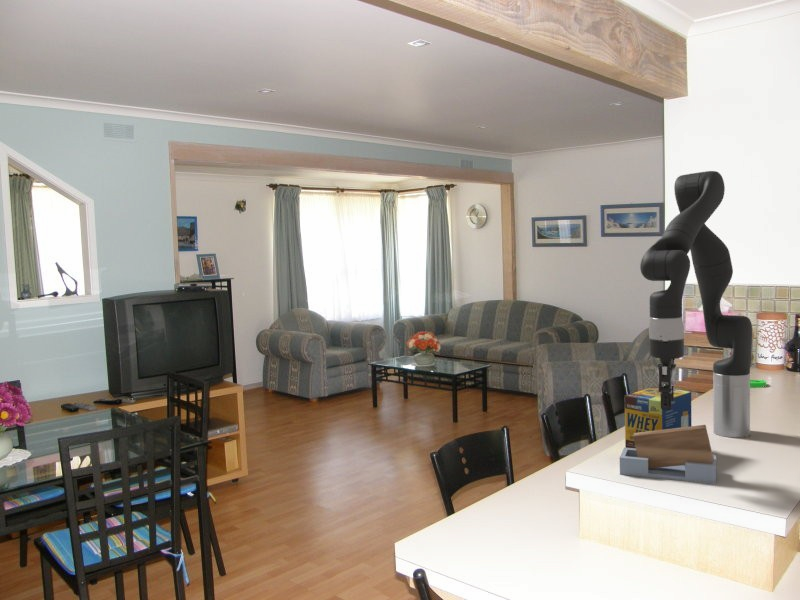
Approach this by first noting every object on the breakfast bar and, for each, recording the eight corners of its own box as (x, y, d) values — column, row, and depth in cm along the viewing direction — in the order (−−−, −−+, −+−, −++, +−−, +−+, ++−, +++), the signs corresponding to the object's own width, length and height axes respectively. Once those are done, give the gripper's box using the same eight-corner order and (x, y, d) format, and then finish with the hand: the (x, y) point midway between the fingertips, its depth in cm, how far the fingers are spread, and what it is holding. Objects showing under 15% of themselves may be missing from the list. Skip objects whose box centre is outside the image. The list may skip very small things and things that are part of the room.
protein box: (624, 454, 175) (623, 395, 174) (655, 441, 185) (655, 385, 184) (662, 463, 167) (661, 401, 166) (693, 449, 177) (692, 390, 176)
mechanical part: (732, 388, 247) (731, 366, 247) (728, 385, 253) (728, 363, 252) (768, 388, 244) (768, 366, 244) (763, 385, 250) (763, 363, 249)
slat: (642, 465, 163) (634, 432, 163) (713, 458, 156) (705, 424, 156) (640, 469, 160) (632, 436, 161) (713, 462, 153) (704, 427, 153)
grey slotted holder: (624, 463, 168) (624, 447, 167) (716, 472, 159) (716, 455, 159) (619, 474, 160) (619, 457, 160) (715, 483, 151) (715, 466, 151)
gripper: (651, 332, 165) (653, 397, 166) (646, 340, 152) (647, 411, 153) (685, 332, 162) (686, 399, 163) (682, 341, 149) (683, 413, 150)
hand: (667, 405), depth 158 cm, fingers open, 8 cm apart
